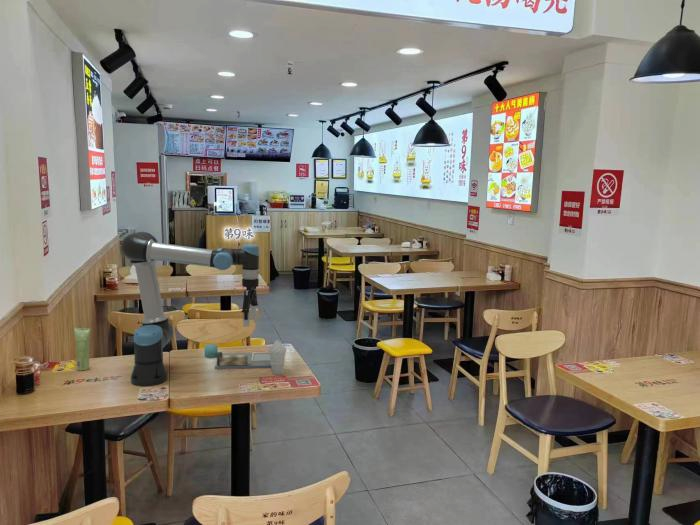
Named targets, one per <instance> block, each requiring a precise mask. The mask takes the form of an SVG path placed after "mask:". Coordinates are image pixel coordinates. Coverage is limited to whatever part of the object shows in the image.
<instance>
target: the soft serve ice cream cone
mask: <svg viewBox="0 0 700 525" xmlns="http://www.w3.org/2000/svg"><path fill="white" fill-rule="evenodd" d="M282 343H283V342H281V341H280V340H279V339H276V340H275V341H274V342H273V344H272V345H271V346H270V347H269V349H268V351H267V352H269V354H270V355H269V356H270V363H271V368H270V369H271V372H272V375H275V376H279V375H282V373H283V369H284V365H285V357H286V353H287V348H286V346H285V345H283V344H282Z"/></svg>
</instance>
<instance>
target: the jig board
mask: <svg viewBox="0 0 700 525" xmlns="http://www.w3.org/2000/svg"><path fill="white" fill-rule="evenodd" d="M223 355H248V364H247V365H228V366H219V365H217V361H216V362H215V365H214V369H215V370H230V369H231V370H232V369H233V370H236V369H238V370H239V369H240V370H241V369H272V368H271V363H270V356H269V355H270V354H269V351H263V352H262V351H258V352H257V351H256V352H255V351H254V352H242V353H241V352H239V353H238V352H237V353H236V352H235V353H232V352H231V353H222V356H223Z"/></svg>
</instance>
